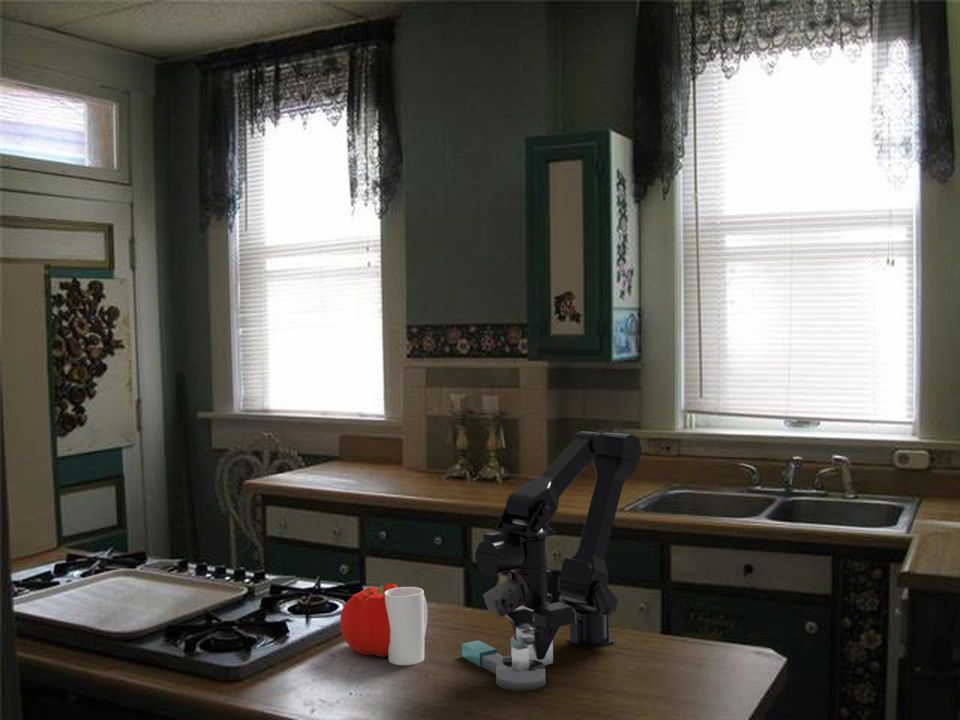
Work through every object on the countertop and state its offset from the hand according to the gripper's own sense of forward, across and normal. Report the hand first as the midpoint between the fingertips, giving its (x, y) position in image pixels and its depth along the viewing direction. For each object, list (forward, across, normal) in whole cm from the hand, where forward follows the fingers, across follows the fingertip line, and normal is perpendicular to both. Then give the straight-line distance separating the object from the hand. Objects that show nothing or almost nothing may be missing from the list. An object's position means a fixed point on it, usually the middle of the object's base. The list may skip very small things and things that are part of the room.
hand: (531, 654), depth 174 cm
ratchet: (+1, +7, -7) cm, 10 cm away
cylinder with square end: (+1, 0, 0) cm, 1 cm away
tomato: (+1, -20, -19) cm, 28 cm away
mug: (+1, -14, -16) cm, 21 cm away
